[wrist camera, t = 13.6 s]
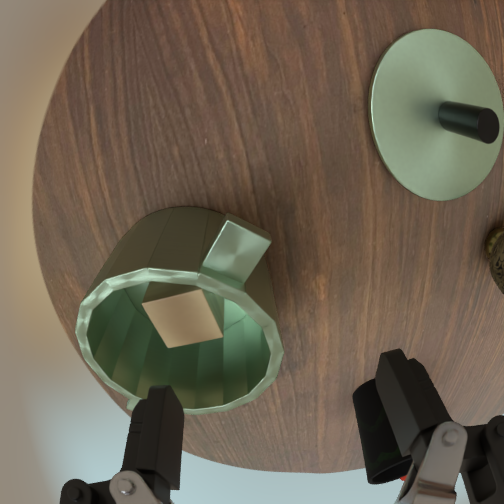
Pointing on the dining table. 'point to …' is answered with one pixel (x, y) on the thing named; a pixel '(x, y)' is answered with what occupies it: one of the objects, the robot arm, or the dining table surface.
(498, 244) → the cup
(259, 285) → the pot
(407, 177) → the pot lid
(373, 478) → the cup
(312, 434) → the dining table surface
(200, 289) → the block
